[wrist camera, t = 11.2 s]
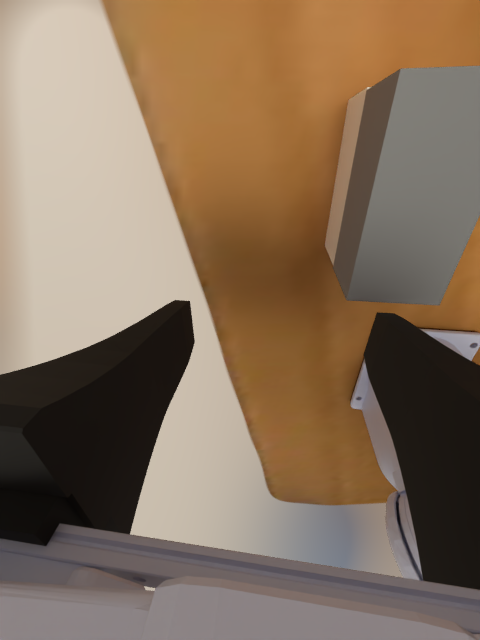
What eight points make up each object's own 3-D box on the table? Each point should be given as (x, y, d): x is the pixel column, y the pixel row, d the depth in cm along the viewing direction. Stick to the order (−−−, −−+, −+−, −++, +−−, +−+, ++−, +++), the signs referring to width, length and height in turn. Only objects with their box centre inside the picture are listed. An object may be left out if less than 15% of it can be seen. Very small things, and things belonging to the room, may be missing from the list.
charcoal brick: (405, 270, 16) (439, 305, 12) (333, 267, 16) (346, 300, 13) (468, 87, 11) (547, 63, 8) (366, 90, 12) (400, 68, 8)
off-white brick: (383, 246, 19) (405, 269, 15) (324, 244, 19) (333, 266, 16) (426, 98, 14) (469, 84, 11) (347, 100, 15) (367, 87, 12)
